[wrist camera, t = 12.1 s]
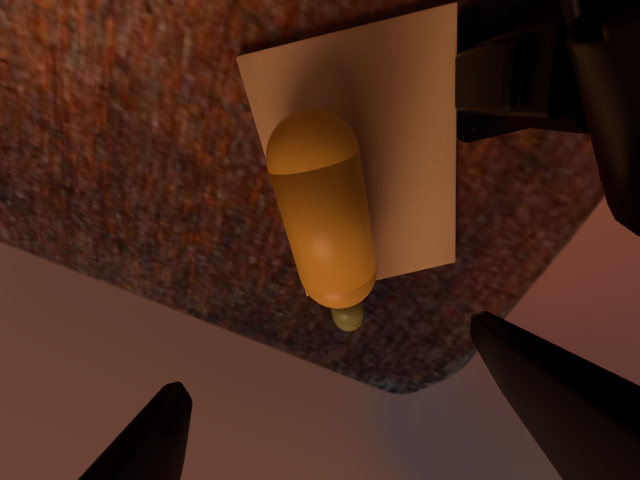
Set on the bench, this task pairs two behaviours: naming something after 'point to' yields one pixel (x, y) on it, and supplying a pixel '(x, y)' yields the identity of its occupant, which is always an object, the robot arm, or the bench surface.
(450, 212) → the birch board
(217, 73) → the bench surface
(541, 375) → the robot arm
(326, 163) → the orange rounded cylinder
